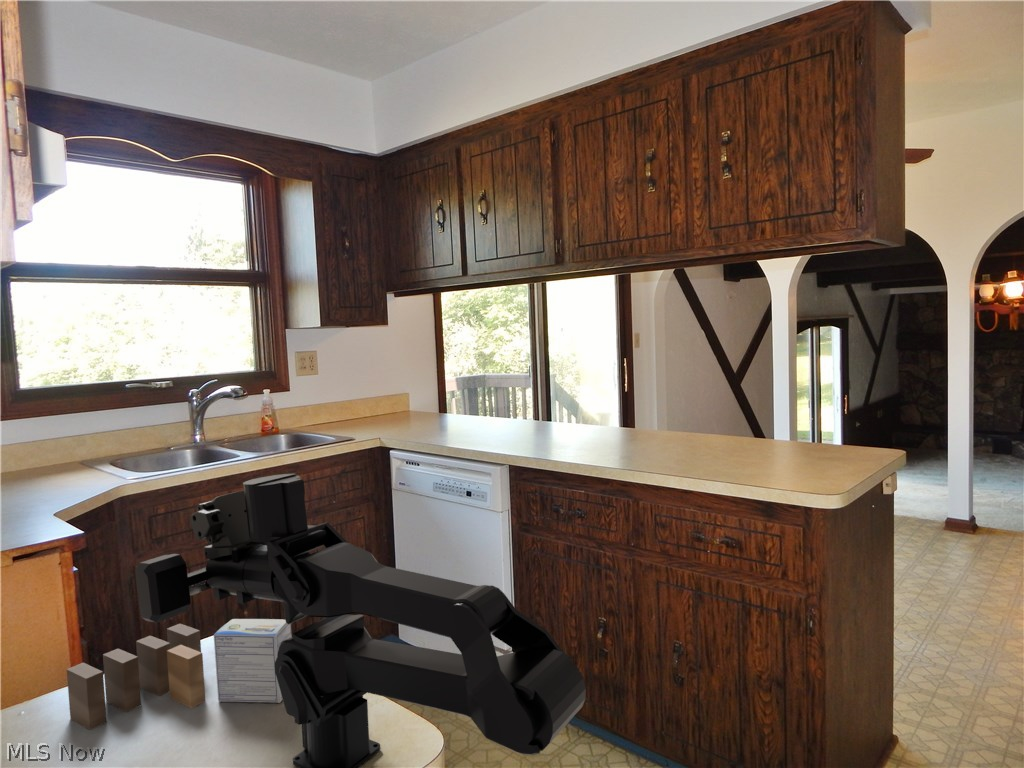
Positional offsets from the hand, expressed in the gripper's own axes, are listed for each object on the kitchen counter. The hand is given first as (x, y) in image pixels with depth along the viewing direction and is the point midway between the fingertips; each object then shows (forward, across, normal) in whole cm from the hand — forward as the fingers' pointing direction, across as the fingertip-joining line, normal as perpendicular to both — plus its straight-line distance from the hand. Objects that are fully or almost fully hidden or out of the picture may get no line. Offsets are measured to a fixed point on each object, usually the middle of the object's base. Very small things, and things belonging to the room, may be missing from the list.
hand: (181, 561), depth 81 cm
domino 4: (+7, -3, +16) cm, 18 cm away
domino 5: (+1, +1, +17) cm, 17 cm away
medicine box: (-6, -4, +18) cm, 19 cm away
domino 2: (+7, +5, +16) cm, 18 cm away
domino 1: (+7, +9, +16) cm, 20 cm away
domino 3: (+7, +1, +16) cm, 18 cm away
